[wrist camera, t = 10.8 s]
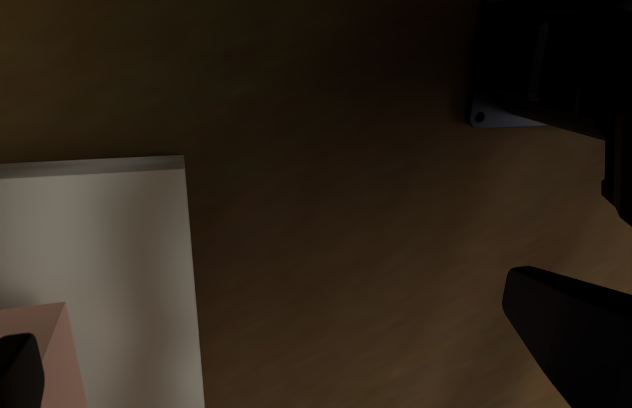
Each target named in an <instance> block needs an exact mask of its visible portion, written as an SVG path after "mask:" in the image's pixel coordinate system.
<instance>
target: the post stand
mask: <svg viewBox="0 0 632 408" xmlns="http://www.w3.org/2000/svg"><path fill="white" fill-rule="evenodd" d="M58 302H66V306H67V311H68V316H69V321H70V325H71V330H72V335H73V340H74V344H75V349H76V354H77V359H78V363H79V368H80V373H81V377H82V382H83V387H84V392H85V396H86V401H87V406H88V408H205V403H204V391H203V379H202V367H201V355H200V343H199V331H198V319H197V307H196V295H195V283H194V271H193V259H192V247H191V235H190V223H189V211H188V199H187V187H186V175H185V163H184V155H170V156H149V157H129V158H108V159H88V160H67V161H47V162H26V163H6V164H0V310H2V309H10V308H18V307H26V306H34V305H42V304H50V303H58Z"/></svg>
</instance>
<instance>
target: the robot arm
mask: <svg viewBox="0 0 632 408" xmlns="http://www.w3.org/2000/svg"><path fill="white" fill-rule="evenodd" d="M469 84H470V87H469V94H468V102H467V109H466V122H467V124H468V125H470V126H472V127H475V128H492V127H517V126H541V125H551V126H555V127H558V128H562V129H565V130H569V131H572V132H576V133H579V134H583V135H587V136H590V137H594V138H597V139H601V140H604V141H605V179H604V180H602V182H601V194H602V196H603V197H605V198H606V199H607V200H608V201H609V202H610V203H611V204H612V205H614V206H615V208H616V210H617V212H618V214H619V217H620V218H621V219H623V220H624V221H625V222H626V223H628V224H629V225H630V226H631V227H632V0H481V8H480V15H479V22H478V25H477V27H476V33H475V40H474V48H473V55H472V62H471V69H470V77H469ZM478 112H479V113H480V116H479V119H478V120H476V121H475V116H476V114H477V113H478ZM502 307H503V310H504V313H505V315H506V316H507V318H508V319H509V321H510V322H511V324H512V325H513V327H514V328H515V330H516V331H517V333H518V334H519V336H520V337H521V339H522V340H523V342H524V344H525V345H526V347H527V348H528V350H529V351H530V353H531V354H532V356H533V357H534V359H535V360H536V362H537V363H538V365H539V366H540V368H541V369H542V371H543V372H544V373H545V375H546V376H547V377H548V379H549V380H550V381H551V383H552V384H553V385H554V386H555V388H556V389H557V390H558V391H559V393H560V394H561V395H562V396H563V398H564V399H565V400H566V401H567V403H568V404H569V405H570V407H571V408H632V295H630V294H627V293H623V292H620V291H616V290H613V289H609V288H606V287H602V286H599V285H595V284H592V283H588V282H585V281H581V280H578V279H574V278H571V277H567V276H564V275H560V274H557V273H553V272H550V271H546V270H543V269H539V268H536V267H532V266H522V267H515V268H512V269H511V270H510V271H509V272H508V274H507V278H506V284H505V289H504V294H503V299H502ZM44 387H45V373H44V369H43V364H42V360H41V356H40V352H39V347H38V343H37V339H36V337H35V335H34V334H33V333H31V332H26V333H18V334H10V335H5V336H3V337H1V338H0V408H41V404H42V398H43V393H44Z"/></svg>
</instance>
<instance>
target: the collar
mask: <svg viewBox="0 0 632 408" xmlns="http://www.w3.org/2000/svg"><path fill="white" fill-rule="evenodd" d="M26 332H31V333H33V334H34V335H35V337H36V339H37V343H38V347H39V352H40V356H41V360H42V364H43V369H44V373H45V387H44V393H43V398H42V404H41V408H88V406H87V401H86V396H85V392H84V387H83V382H82V377H81V373H80V368H79V363H78V359H77V354H76V349H75V344H74V340H73V335H72V330H71V325H70V321H69V316H68V311H67V306H66V302H58V303H50V304H42V305H34V306H26V307H18V308H10V309H2V310H0V338H1V337H3V336H5V335H10V334H18V333H26Z"/></svg>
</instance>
